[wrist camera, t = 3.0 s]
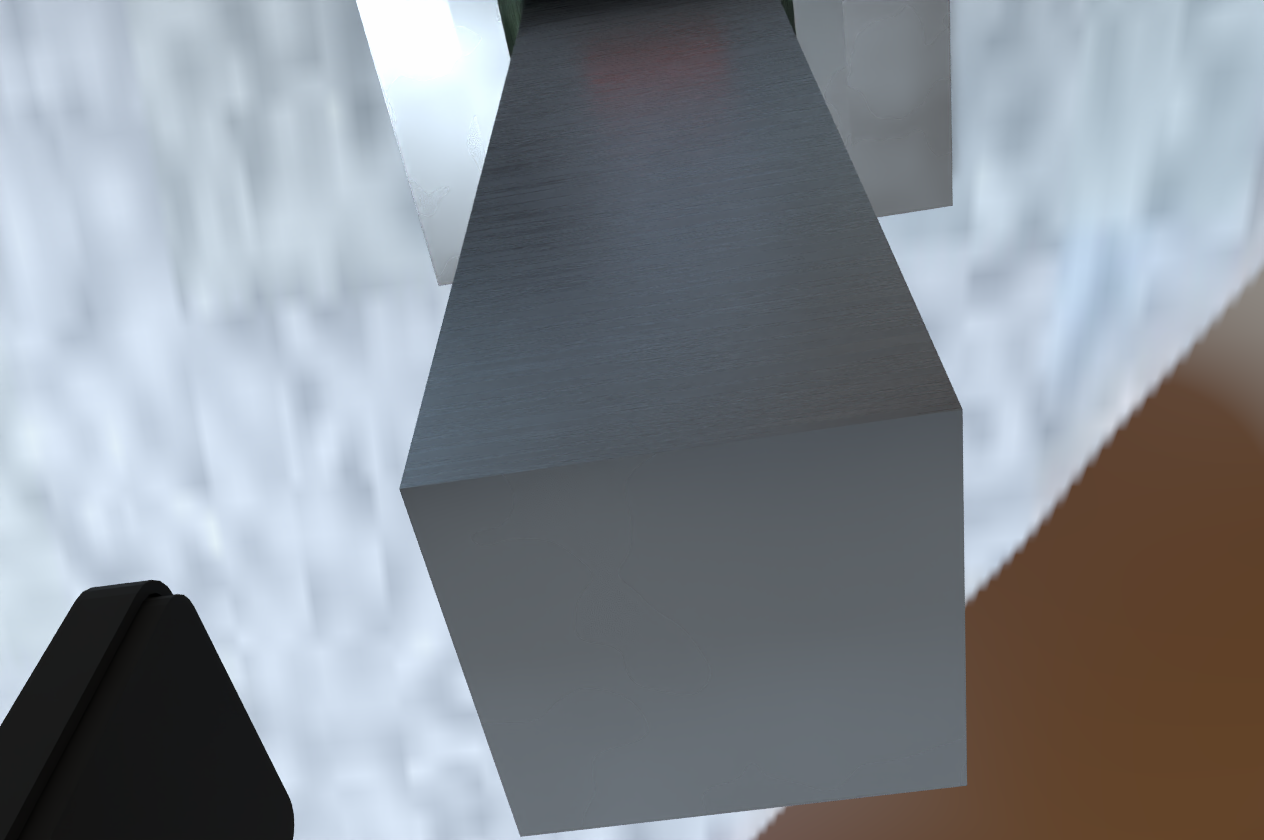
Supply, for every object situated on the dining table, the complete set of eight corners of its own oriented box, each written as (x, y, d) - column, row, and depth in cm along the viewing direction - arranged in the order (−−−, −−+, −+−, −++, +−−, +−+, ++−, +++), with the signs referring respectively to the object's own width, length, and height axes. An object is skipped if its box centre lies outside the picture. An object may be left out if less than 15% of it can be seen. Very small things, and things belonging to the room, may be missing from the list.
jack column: (544, -97, 27) (381, 480, 8) (728, -131, 26) (977, 395, 8) (579, 83, 29) (512, 844, 11) (748, 54, 29) (978, 791, 10)
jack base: (284, -308, 26) (111, -281, 17) (926, -437, 25) (1095, -481, 16) (445, 261, 33) (384, 482, 25) (939, 183, 32) (1059, 386, 23)
